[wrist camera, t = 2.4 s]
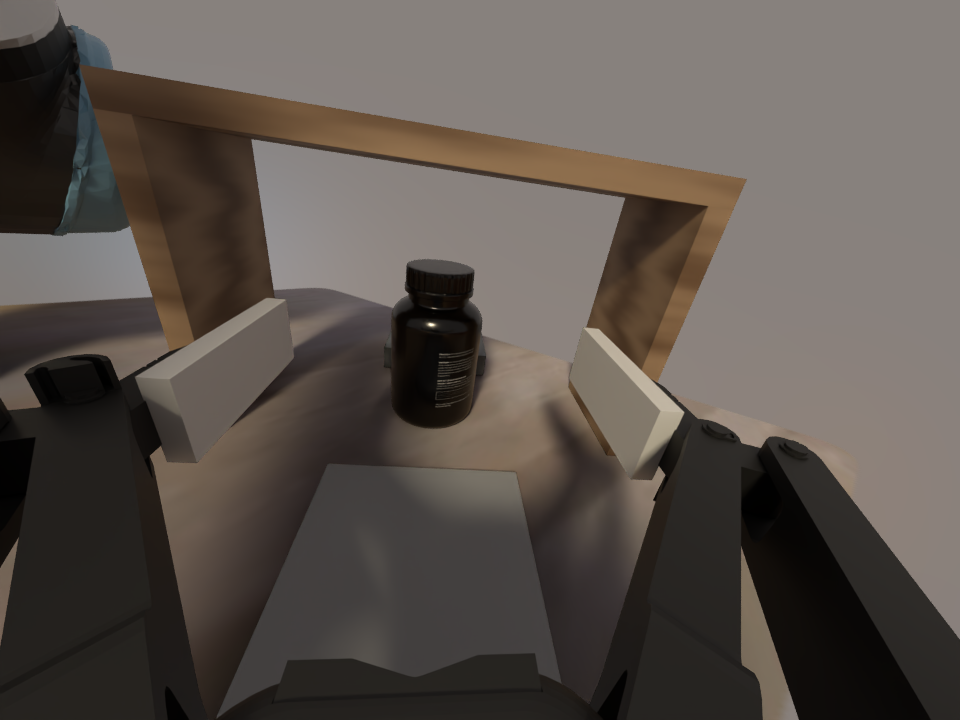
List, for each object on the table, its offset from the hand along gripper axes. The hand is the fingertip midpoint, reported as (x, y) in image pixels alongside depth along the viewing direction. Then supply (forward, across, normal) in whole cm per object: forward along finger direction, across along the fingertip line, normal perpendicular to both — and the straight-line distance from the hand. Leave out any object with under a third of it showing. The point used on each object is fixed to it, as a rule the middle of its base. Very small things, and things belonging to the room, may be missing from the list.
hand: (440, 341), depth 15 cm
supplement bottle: (+10, 0, -11) cm, 15 cm away
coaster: (-4, 0, -11) cm, 12 cm away
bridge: (+10, 0, -11) cm, 15 cm away
